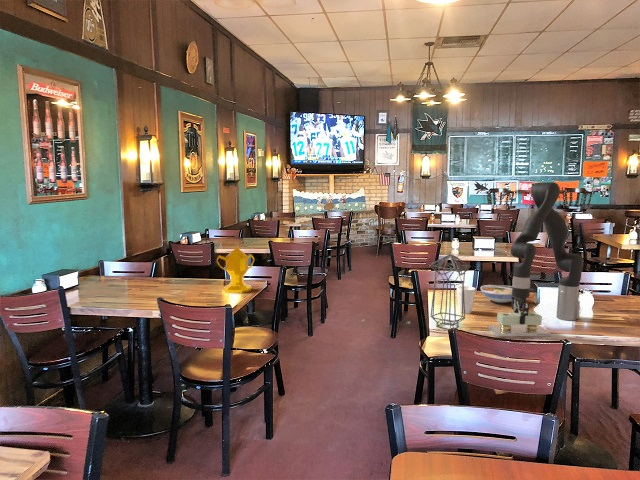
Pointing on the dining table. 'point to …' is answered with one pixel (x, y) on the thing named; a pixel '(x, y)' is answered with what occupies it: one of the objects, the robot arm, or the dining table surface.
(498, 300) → the ramen bowl
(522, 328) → the board with brass pegs
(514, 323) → the bar
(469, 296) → the foam cup
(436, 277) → the geometric lantern
